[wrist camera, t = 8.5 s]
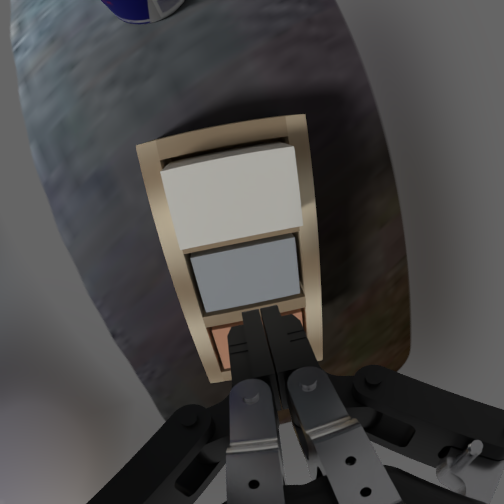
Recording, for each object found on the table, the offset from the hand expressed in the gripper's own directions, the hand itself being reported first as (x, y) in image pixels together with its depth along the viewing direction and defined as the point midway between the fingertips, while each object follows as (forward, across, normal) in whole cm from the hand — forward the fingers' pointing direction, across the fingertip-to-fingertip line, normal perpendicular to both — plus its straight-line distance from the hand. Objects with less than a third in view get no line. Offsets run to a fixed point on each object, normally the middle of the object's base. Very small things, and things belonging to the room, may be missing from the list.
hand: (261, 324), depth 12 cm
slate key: (+8, 0, 0) cm, 8 cm away
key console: (+10, 0, 0) cm, 10 cm away
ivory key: (+6, 0, -5) cm, 7 cm away
